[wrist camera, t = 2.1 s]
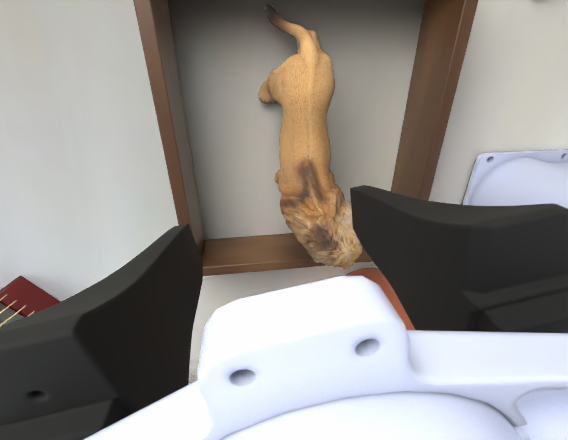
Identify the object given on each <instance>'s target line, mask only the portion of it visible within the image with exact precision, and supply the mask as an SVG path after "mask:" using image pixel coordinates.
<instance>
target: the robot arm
mask: <svg viewBox="0 0 568 440" xmlns="http://www.w3.org/2000/svg"><path fill="white" fill-rule="evenodd" d="M489 157H490V158H489ZM488 158H489V160H488ZM487 160H488V161H487ZM350 194H351V209H352V224H353V230H354V232H355V234H356V236H357V238H358V239H359V241H360V243H361V245H362V246H363V248H364V249H365V251H366V252H367V253H368V255H369V256H370V257H371V259H372V260H373V261H374V263H375V264H376V266H377V267H378V268H379V270H380V271H381V272H382V274H383V275H384V276H385V278H386V279H387V281H388V282H389V284H390V285H391V287H392V288H393V290H394V292H395V294H396V295H397V297H398V299H399V301H400V302H401V304H402V306H403V308H404V310H405V311H406V313H407V315H408V317H409V319H410V321H411V323H412V325H413V326H414V328H415V330H406V327H405V324H404V322H403V321H402V319H401V318H400V316H399V315H398V313H397V312H396V310H395V309H394V307H393V306H392V304H391V303H390V301H389V299H388V298H387V296H386V295H385V293H384V292H383V290H382V289H381V287H380V286H379V285H378V284H376V283H375V282H373V281H371V280H369V279H367V278H365V277H364V276H338V277H334V278H329V279H325V280H320V281H316V282H312V283H307V284H303V285H299V286H294V287H290V288H286V289H281V290H277V291H273V292H268V293H264V294H259V295H255V296H251V297H246V298H242V299H238V300H236V301H233V302H231V303H229V304H227V305H225V306H223V307H220V308H218V309H216V310H215V312H214V313H213V314H212V316H211V317H210V319H209V320H208V321H207V323H206V324H205V325H204V332H203V339H202V346H201V352H200V359H199V366H198V380H197V381H195V382H193V383H191V384H189V385H188V379H189V363H190V349H191V338H192V330H193V323H194V319H195V314H196V309H197V305H198V300H199V295H200V290H201V285H202V279H203V260H202V257H201V254H200V252H199V249H198V247H197V244H196V242H195V239H194V236H193V234H192V231H191V229H190V226H189V224H184V225H180V226H175V227H173V228H171V229H170V230H168V231H167V232H166V233H165V234H163V235H162V236H161V237H160V238H159V239H157V240H156V241H155V242H154V243H152V244H151V245H150V246H149V247H148V248H146V249H145V250H144V251H143V252H141V253H140V254H139V255H138V256H136V257H135V258H134V259H132V260H131V261H130V262H128V263H127V264H126V265H124V266H123V267H121V268H120V269H119V270H117V271H116V272H114V273H112V274H111V275H109V276H108V277H106V278H105V279H103V280H101V281H100V282H98V283H96V284H94V285H92V286H90V287H89V288H87V289H85V290H83V291H81V292H80V293H78V294H76V295H74V296H72V297H70V298H68V299H66V300H64V301H62V302H60V303H57V304H55V305H53V306H51V307H49V308H46V309H44V310H42V311H40V312H37V313H35V314H32V315H30V316H27V317H25V318H22V319H20V320H17V321H15V322H12V323H10V324H7V325H4V326H2V327H0V440H568V149H563V150H540V151H516V152H493V153H481V154H480V155H479V156H478V157H477V159H476V161H475V165H474V168H473V171H472V174H471V177H470V181H469V184H468V187H467V190H466V193H465V197H464V200H463V203H462V205H458V204H447V203H440V202H433V201H427V200H422V199H417V198H412V197H408V196H404V195H400V194H396V193H393V192H389V191H386V190H382V189H379V188H375V187H371V186H364V185H363V186H359V187H354V188H350Z"/></svg>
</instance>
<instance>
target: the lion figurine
mask: <svg viewBox="0 0 568 440" xmlns="http://www.w3.org/2000/svg"><path fill="white" fill-rule="evenodd" d="M265 10H266V12H267V15H268V18H269V20H270V21H271V23H272V24H273V25H274V26H276V27H278V28H279V29H280V30H282V31H284V32H286V33H288V34H290V35H292V36H293V37H295V38H296V39H297V48H298V52H297V54H295V55H292V56H290V57H289V58H288V59H286V60H285V61H284V63H282V64H281V65H280V66H279V67H278V68H277V70H275V69H273V70H272V71H271V72H270V74H269V76H268V78H267V80H266V81H265V82H264V83H263V85H262V86H261V88H260V91H259V99H260V100H261V102H263V103H266V104H268V103H272V102H274V100H276V101H277V102H278V103H279V104H280V105H281V106H282V108H283V120H282V125H281V131H280V167H281V170H279V171H277V173H276V174H275V181H276V182H277V183H278V184H279V190H280V192H281V200H280V207H281V211H282V214H283V215H284V218H285V219H286V223H287V225H288V227H289V228H290V229H291V230H292V231H293V233H294V235H295V237H296V238H297V240H298V241H299V242H300V243H302V245H303V246H304V247H305V248H306V250H307V252H308V253H309V254H310V255H311V256H312V258H313V260H314V261H315V262H318V263H319V262H322V263H323V264H325V265H327V266H333V267H341V268H343V269H345V270H349V269H350V266H351V265H353V264H354V262H355V260H356V259H357V258H358V257H359V255H360V254H361V253H362V245H361V243H360V241H359V239H358V238H357V236H356V234H355V232H354V230H353V224H352V209H351V203H349V202H347V201H346V200H345V198H344V195H343V192H342V191H341V189H340V187H339V186H338V185H336V184H335V180H334V175H333V173H332V172H331V170H330V157H331V152H330V142H329V136H328V130H327V125H326V114H327V110H328V107H329V104H330V101H331V98H332V96H333V93H334V89H335V79H334V71H333V65H332V61H331V59H330V57H329V55H328V54H326V53H324V52H323V51H322V50H321V48H320V46H319V38H318V35H317V33H316V32H315V31H312V30H306V29H305V28H303V27H302V26H299V25H297V24H292V23H289V22H287V21H285V20H284V19H282V18H281V17H280V16H279V13H278V12H276V10H275V8H274V7H273V6H272V5H269V4H268V5H266V6H265Z"/></svg>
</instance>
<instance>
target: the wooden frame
mask: <svg viewBox="0 0 568 440" xmlns="http://www.w3.org/2000/svg"><path fill="white" fill-rule="evenodd" d="M133 1H134V5H135V10H136V15H137V20H138V25H139V30H140V35H141V40H142V45H143V50H144V55H145V60H146V65H147V70H148V75H149V80H150V85H151V90H152V95H153V100H154V105H155V110H156V115H157V120H158V125H159V130H160V135H161V139H162V144H163V149H164V154H165V159H166V164H167V169H168V174H169V179H170V184H171V189H172V194H173V199H174V204H175V209H176V214H177V219H178V224H179V226H180V225H184V224H189V226H190V229H191V231H192V234H193V236H194V239H195V242H196V244H197V247H198V249H199V252H200V254H201V257H202V260H203V276H211V275H222V274H234V273H245V272H257V271H268V270H279V269H291V268H302V267H313V266H325V264H323V263H322V262H319V263H318V262H315V261H314V260H313V258H312V256H311V255H310V254H309V253H308V252H307V250H306V248H305V247H304V246H303V245H302V243H300V242H299V241H298V240H297V238H296V237H295V235H294V233H291V234H278V235H264V236H250V237H237V238H223V239H209V240H205V238H204V232H203V226H202V219H201V213H200V207H199V200H198V194H197V188H196V181H195V175H194V169H193V162H192V156H191V150H190V143H189V137H188V131H187V124H186V118H185V112H184V105H183V99H182V92H181V86H180V80H179V73H178V67H177V61H176V54H175V48H174V42H173V35H172V29H171V23H170V16H169V10H168V4H167V0H133ZM477 4H478V0H426V1H425V6H424V12H423V17H422V23H421V28H420V34H419V39H418V45H417V50H416V56H415V61H414V67H413V72H412V78H411V83H410V89H409V94H408V100H407V105H406V111H405V116H404V122H403V127H402V133H401V138H400V144H399V149H398V155H397V160H396V166H395V172H394V177H393V183H392V188H391V192H393V193H396V194H400V195H404V196H408V197H412V198H417V199H422V200H427V201H428V199H429V195H430V191H431V187H432V183H433V179H434V175H435V171H436V167H437V163H438V159H439V155H440V151H441V147H442V143H443V139H444V135H445V131H446V127H447V123H448V119H449V115H450V111H451V107H452V103H453V99H454V95H455V91H456V87H457V83H458V79H459V75H460V71H461V67H462V63H463V59H464V55H465V52H466V48H467V44H468V40H469V36H470V32H471V28H472V24H473V20H474V16H475V12H476V8H477ZM370 261H373V260H372V259H371V257H370V256H369V255H368V253H367V252H366V251H365V249H364V248H363V246H362V253H361V254H360V255H359V257H358V258H357V259H356V260H355V262H354V263H359V262H370Z"/></svg>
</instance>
